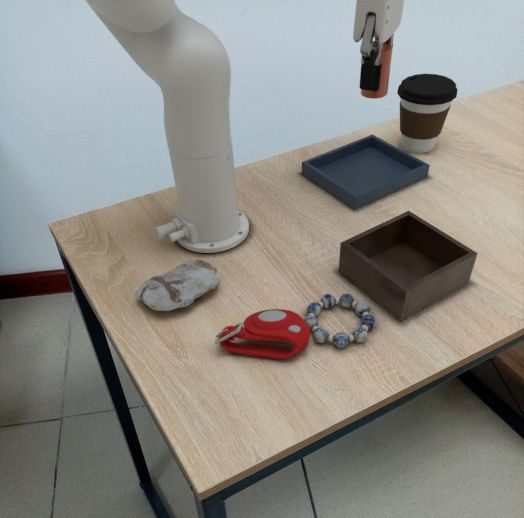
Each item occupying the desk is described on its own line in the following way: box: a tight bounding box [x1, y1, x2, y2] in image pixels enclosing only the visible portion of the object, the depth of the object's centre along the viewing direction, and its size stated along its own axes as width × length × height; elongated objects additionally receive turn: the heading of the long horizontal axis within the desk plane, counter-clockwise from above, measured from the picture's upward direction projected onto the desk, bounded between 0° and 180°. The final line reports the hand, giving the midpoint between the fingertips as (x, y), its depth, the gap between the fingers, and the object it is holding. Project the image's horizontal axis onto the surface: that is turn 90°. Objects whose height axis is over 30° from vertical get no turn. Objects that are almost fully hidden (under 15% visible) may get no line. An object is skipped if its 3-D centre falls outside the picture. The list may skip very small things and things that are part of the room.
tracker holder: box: [214, 308, 311, 360], centre depth 71 cm, size 12×4×10 cm
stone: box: [135, 258, 220, 312], centre depth 79 cm, size 12×9×3 cm
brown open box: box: [338, 210, 478, 322], centre depth 78 cm, size 14×14×6 cm
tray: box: [301, 133, 431, 211], centre depth 99 cm, size 18×16×2 cm
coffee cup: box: [396, 73, 458, 154], centre depth 102 cm, size 11×11×12 cm
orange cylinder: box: [360, 43, 394, 100], centre depth 86 cm, size 4×4×7 cm
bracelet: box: [303, 293, 376, 349], centre depth 73 cm, size 10×10×2 cm
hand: (374, 82), depth 87 cm, fingers closed on orange cylinder, 4 cm apart
